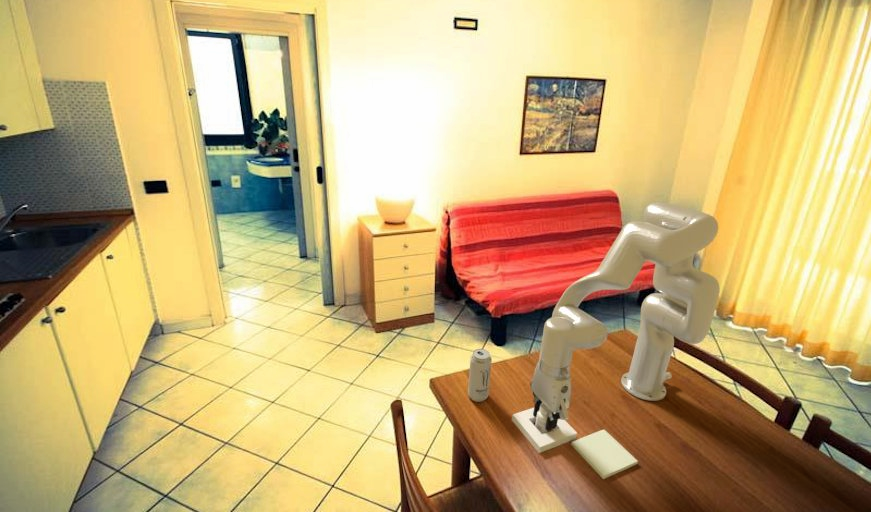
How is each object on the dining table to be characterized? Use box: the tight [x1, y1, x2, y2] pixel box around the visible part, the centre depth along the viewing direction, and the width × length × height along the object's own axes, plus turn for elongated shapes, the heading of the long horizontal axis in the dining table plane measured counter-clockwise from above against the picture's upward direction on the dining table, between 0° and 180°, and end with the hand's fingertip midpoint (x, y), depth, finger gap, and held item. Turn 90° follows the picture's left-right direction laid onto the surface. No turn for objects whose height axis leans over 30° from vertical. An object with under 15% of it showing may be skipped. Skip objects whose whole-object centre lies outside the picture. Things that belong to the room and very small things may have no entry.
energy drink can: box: [467, 348, 492, 403], centre depth 118 cm, size 6×6×15 cm
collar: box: [511, 407, 578, 454], centre depth 109 cm, size 12×12×2 cm
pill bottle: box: [534, 403, 553, 434], centre depth 108 cm, size 4×4×8 cm
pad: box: [571, 429, 638, 480], centre depth 102 cm, size 11×11×1 cm
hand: (544, 421), depth 108 cm, fingers closed on pill bottle, 4 cm apart
